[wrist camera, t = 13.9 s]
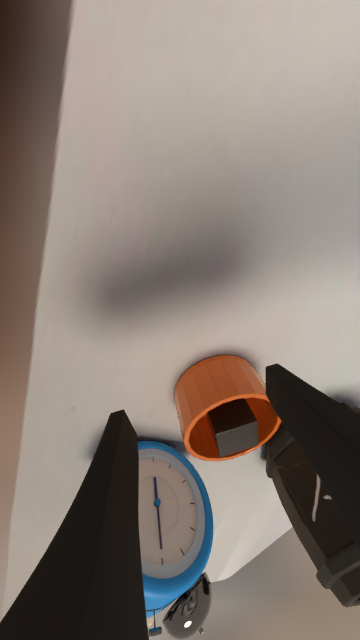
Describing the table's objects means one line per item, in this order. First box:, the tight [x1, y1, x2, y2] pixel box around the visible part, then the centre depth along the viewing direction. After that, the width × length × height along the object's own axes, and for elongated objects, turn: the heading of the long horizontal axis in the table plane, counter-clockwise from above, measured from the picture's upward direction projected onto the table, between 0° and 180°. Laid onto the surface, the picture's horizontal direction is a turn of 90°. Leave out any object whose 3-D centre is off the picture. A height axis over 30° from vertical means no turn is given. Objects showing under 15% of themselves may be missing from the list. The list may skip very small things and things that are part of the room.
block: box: [206, 398, 258, 457], centre depth 23 cm, size 4×4×6 cm
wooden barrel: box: [265, 403, 360, 607], centre depth 29 cm, size 18×18×16 cm
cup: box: [174, 355, 281, 461], centre depth 24 cm, size 10×10×6 cm
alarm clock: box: [138, 441, 213, 640], centre depth 23 cm, size 13×6×15 cm, turn 62°
